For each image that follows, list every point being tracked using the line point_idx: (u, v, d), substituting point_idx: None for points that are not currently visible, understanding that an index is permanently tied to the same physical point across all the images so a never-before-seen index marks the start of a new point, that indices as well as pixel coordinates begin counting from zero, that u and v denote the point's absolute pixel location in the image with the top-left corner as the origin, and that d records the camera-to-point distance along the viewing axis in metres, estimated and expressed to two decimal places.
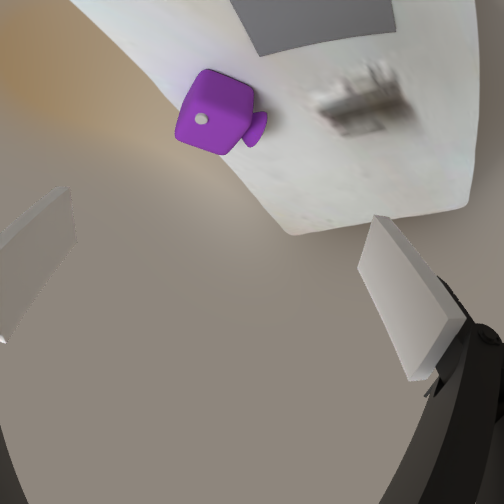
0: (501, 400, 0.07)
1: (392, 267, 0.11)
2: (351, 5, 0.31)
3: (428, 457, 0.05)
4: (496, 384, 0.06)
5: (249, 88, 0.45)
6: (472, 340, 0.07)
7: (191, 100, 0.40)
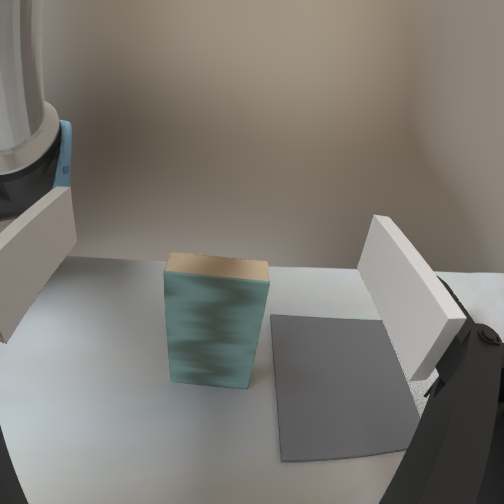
0: (501, 400, 0.07)
1: (392, 267, 0.11)
2: (358, 348, 0.38)
3: (428, 457, 0.05)
4: (496, 385, 0.06)
5: None
6: (472, 340, 0.07)
7: None
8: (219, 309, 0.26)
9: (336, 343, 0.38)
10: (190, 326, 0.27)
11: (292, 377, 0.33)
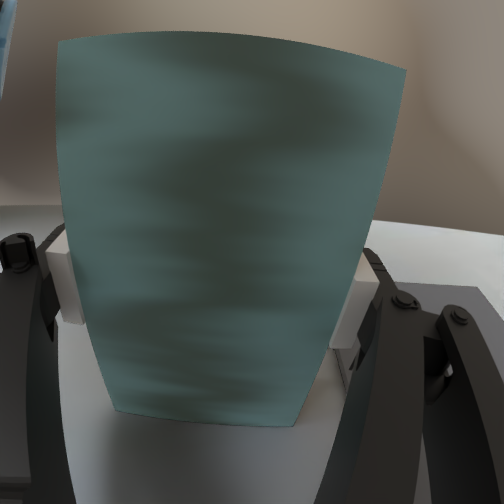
0: (438, 374, 0.08)
1: None
2: None
3: (354, 438, 0.05)
4: (420, 350, 0.07)
5: None
6: (386, 308, 0.08)
7: None
8: (235, 168, 0.07)
9: None
10: (138, 248, 0.08)
11: None
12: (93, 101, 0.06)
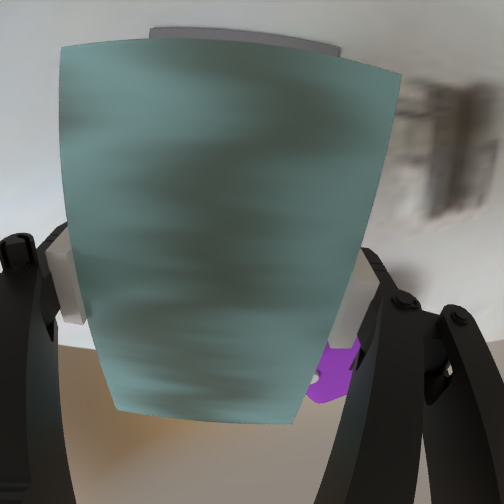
0: (438, 374, 0.08)
1: None
2: None
3: (354, 437, 0.05)
4: (420, 350, 0.07)
5: None
6: (386, 308, 0.08)
7: None
8: (234, 172, 0.07)
9: None
10: (140, 250, 0.08)
11: None
12: (96, 106, 0.06)
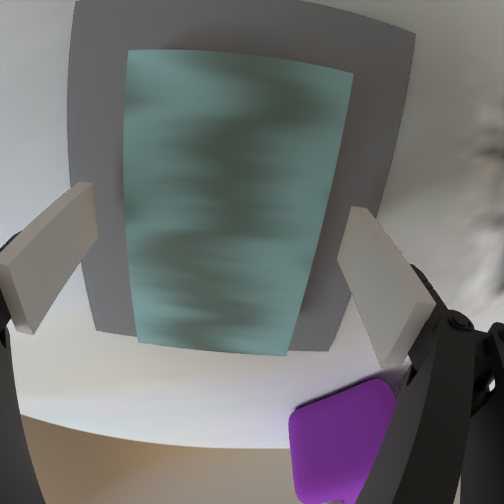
0: (480, 389, 0.08)
1: (366, 256, 0.12)
2: None
3: (402, 449, 0.05)
4: (470, 371, 0.06)
5: (372, 387, 0.23)
6: (442, 327, 0.07)
7: (296, 492, 0.20)
8: (243, 136, 0.11)
9: None
10: (176, 190, 0.12)
11: (100, 193, 0.15)
12: (152, 91, 0.10)
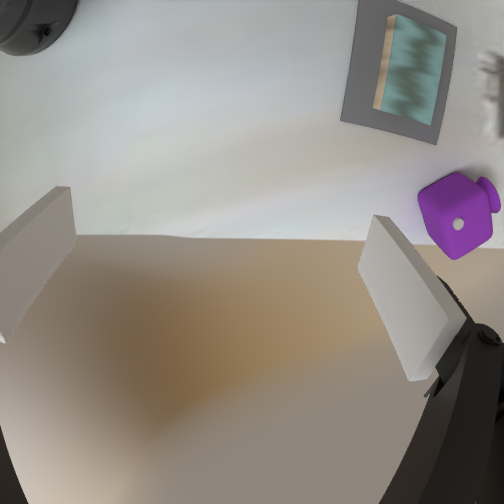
0: (501, 400, 0.07)
1: (392, 267, 0.11)
2: None
3: (428, 457, 0.05)
4: (496, 384, 0.06)
5: (455, 173, 0.43)
6: (472, 340, 0.07)
7: (439, 219, 0.40)
8: (423, 44, 0.31)
9: None
10: (406, 54, 0.32)
11: (365, 55, 0.35)
12: (402, 26, 0.30)
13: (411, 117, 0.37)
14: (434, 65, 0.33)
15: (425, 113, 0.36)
